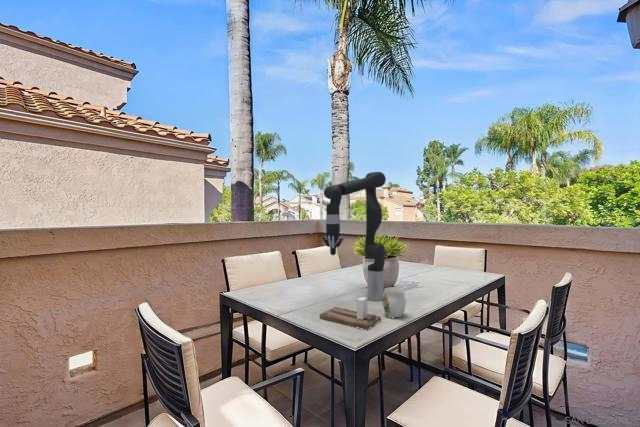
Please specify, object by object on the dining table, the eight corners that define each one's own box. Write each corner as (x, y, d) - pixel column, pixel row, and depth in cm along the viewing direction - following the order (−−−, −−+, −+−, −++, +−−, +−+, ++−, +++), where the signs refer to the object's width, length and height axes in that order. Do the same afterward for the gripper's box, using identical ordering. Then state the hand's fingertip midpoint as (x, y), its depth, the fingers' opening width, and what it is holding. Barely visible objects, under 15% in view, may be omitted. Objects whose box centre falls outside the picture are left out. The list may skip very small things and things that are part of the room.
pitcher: (394, 308, 168) (394, 283, 167) (412, 320, 150) (412, 292, 150) (375, 310, 165) (375, 284, 164) (392, 322, 147) (392, 293, 147)
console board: (334, 310, 164) (334, 303, 164) (380, 320, 150) (380, 312, 149) (319, 318, 153) (319, 310, 153) (367, 330, 138) (367, 321, 138)
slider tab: (361, 315, 150) (361, 296, 150) (367, 316, 149) (367, 298, 148) (356, 318, 146) (356, 299, 146) (362, 319, 144) (362, 300, 144)
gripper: (347, 222, 167) (347, 255, 167) (326, 222, 174) (326, 253, 175) (339, 223, 161) (339, 257, 161) (318, 222, 168) (319, 254, 169)
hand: (333, 254), depth 168 cm, fingers closed
